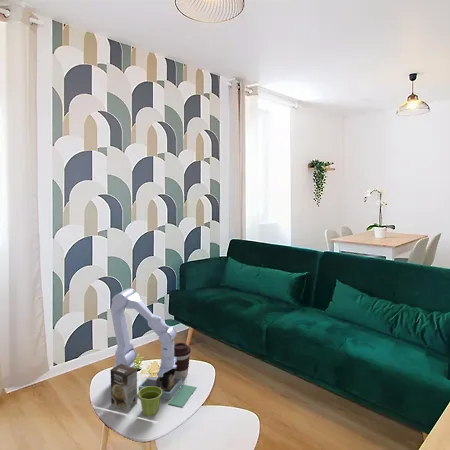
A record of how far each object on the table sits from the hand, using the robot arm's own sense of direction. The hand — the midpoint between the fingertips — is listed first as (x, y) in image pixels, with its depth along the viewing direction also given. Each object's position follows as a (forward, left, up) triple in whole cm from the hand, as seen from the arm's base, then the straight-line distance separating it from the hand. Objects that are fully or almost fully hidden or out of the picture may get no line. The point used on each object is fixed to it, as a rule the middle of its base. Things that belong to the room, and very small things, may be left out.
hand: (167, 384), depth 165 cm
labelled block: (0, 0, -1) cm, 1 cm away
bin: (-3, 0, -3) cm, 5 cm away
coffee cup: (0, +14, -4) cm, 14 cm away
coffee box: (-12, -15, -4) cm, 20 cm away
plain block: (-7, 0, -3) cm, 7 cm away
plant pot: (0, -15, -4) cm, 16 cm away
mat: (+8, -1, -3) cm, 9 cm away
